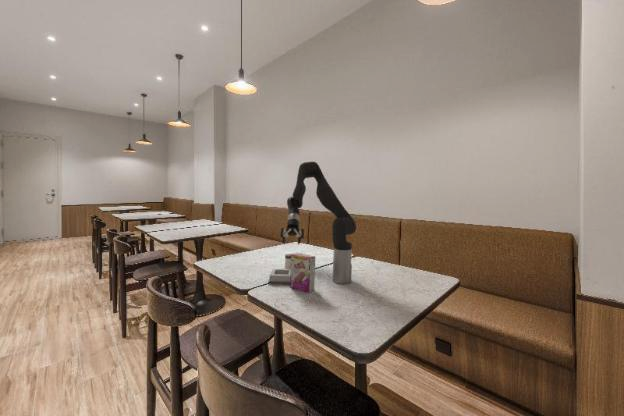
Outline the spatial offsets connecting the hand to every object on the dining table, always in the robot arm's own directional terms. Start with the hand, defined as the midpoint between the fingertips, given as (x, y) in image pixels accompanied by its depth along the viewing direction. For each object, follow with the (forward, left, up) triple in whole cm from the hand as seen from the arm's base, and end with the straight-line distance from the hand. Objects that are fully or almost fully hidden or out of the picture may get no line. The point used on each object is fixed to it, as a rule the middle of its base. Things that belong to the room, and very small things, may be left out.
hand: (291, 243), depth 160 cm
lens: (0, +11, -14) cm, 18 cm away
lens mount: (+3, +23, -14) cm, 27 cm away
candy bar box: (-8, +34, -15) cm, 38 cm away
